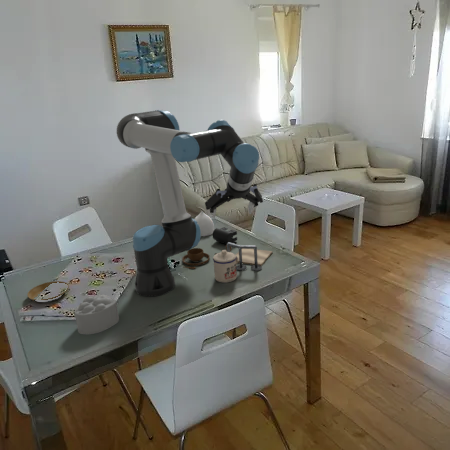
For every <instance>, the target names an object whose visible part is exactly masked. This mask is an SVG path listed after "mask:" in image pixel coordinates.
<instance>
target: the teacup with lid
mask: <svg viewBox="0 0 450 450" xmlns="http://www.w3.org/2000/svg"><path fill="white" fill-rule="evenodd" d="M216 253H217V254H215V255H213V257H212V261H213V270H214V279H215V280H216V281H217V282H218V283H225V284H226V283H231V282H233V281H235V280H236V279H237V277H238V275H237V274H238V273H237V272H238V270H236V266H237V265H238V264H239V263H238V257H237V256H236V253H233V252H232V251H230V252H227V251H226V249H222V250H221V251H220V252H216Z"/></svg>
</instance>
